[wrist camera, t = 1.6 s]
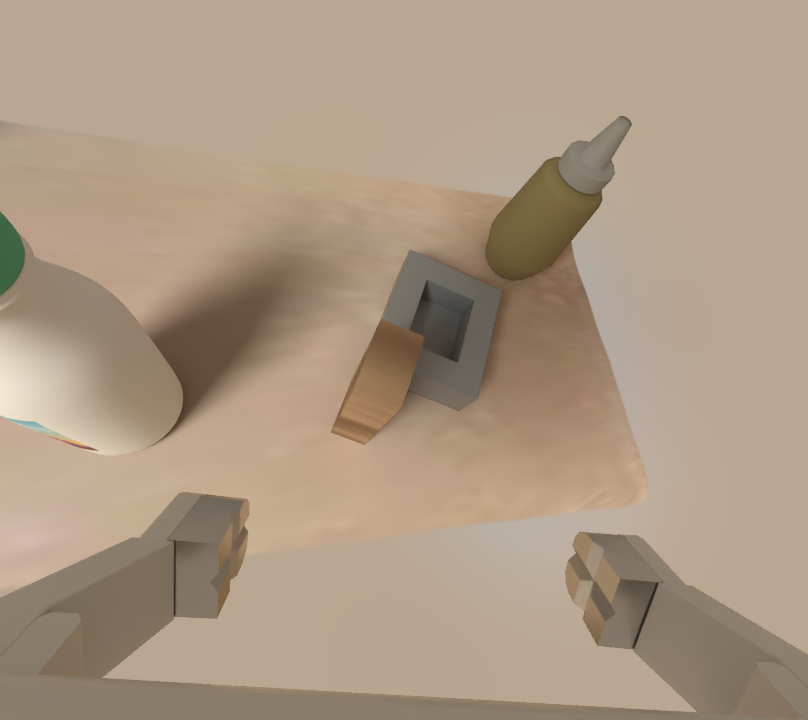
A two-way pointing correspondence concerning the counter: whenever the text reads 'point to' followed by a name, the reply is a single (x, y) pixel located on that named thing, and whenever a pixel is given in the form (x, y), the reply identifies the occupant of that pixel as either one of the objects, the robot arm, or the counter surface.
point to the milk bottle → (77, 358)
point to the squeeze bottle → (553, 205)
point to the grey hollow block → (444, 327)
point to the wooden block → (379, 382)
